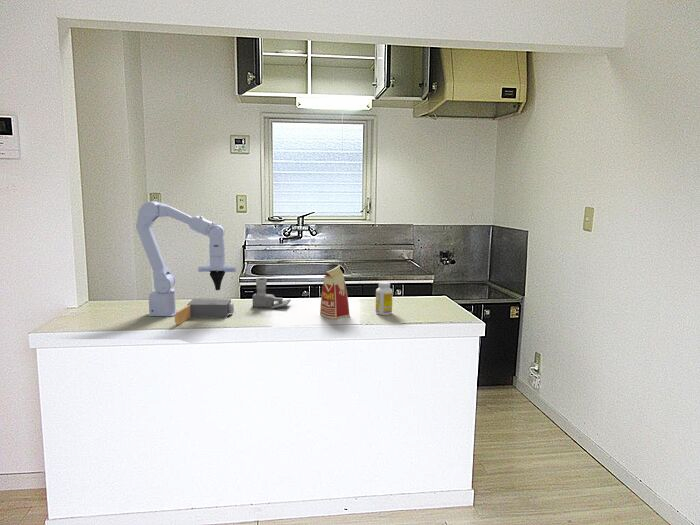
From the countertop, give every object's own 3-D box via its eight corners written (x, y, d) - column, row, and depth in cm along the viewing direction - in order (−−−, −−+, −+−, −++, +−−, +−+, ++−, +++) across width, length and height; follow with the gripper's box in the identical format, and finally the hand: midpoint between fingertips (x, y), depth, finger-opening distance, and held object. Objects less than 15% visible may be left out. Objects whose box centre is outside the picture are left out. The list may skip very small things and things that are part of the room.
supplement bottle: (394, 312, 216) (395, 281, 214) (388, 316, 211) (389, 284, 208) (379, 310, 219) (379, 280, 217) (372, 314, 213) (373, 282, 211)
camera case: (187, 317, 205) (187, 304, 204) (193, 311, 213) (193, 298, 213) (231, 317, 205) (230, 304, 204) (235, 311, 214) (234, 299, 213)
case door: (187, 316, 204) (187, 304, 204) (191, 316, 204) (190, 304, 203) (174, 324, 193) (174, 312, 192) (178, 325, 193) (178, 312, 192)
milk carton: (334, 311, 217) (335, 263, 213) (350, 316, 210) (351, 266, 207) (317, 315, 210) (318, 265, 207) (333, 320, 204) (334, 269, 200)
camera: (256, 276, 225) (291, 278, 224) (256, 303, 227) (290, 305, 226) (250, 280, 217) (287, 282, 215) (250, 308, 219) (286, 310, 217)
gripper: (195, 257, 203) (196, 291, 206) (233, 257, 204) (234, 292, 206) (200, 254, 210) (201, 287, 212) (237, 254, 211) (237, 288, 213)
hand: (217, 289), depth 210 cm, fingers closed
